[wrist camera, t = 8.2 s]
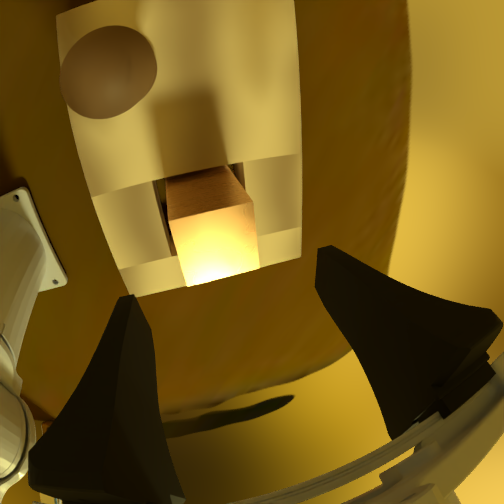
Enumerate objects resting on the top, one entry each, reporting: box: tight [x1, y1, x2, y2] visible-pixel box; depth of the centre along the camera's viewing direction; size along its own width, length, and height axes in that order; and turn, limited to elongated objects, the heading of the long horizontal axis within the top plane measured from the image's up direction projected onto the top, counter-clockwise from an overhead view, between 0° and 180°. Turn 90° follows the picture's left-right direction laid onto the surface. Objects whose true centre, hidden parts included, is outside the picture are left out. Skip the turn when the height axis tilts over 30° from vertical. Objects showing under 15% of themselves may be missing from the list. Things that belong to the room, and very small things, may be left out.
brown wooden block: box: [165, 165, 260, 287], centre depth 15 cm, size 4×4×7 cm
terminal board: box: [56, 0, 302, 297], centre depth 13 cm, size 12×18×6 cm, turn 4°
